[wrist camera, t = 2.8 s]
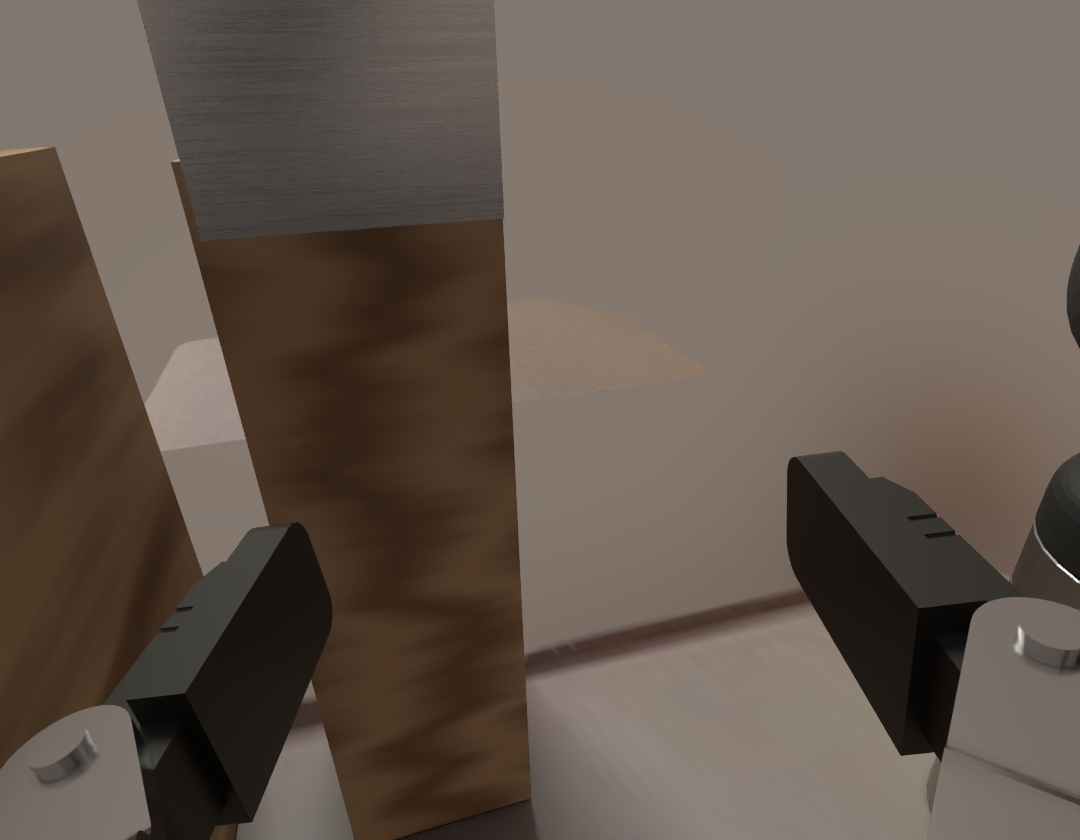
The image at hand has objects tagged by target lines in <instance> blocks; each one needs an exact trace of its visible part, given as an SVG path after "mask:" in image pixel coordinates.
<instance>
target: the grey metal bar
mask: <svg viewBox="0 0 1080 840" xmlns="http://www.w3.org/2000/svg"><path fill="white" fill-rule="evenodd" d="M137 1H138V5H139V9H140V13H141V17H142V20H143V24H144V28H145V32H146V35H147V39H148V43H149V47H150V50H151V54H152V58H153V62H154V66H155V69H156V73H157V77H158V81H159V84H160V88H161V92H162V96H163V100H164V103H165V107H166V111H167V115H168V118H169V122H170V126H171V130H172V133H173V137H174V141H175V145H176V149H177V152H178V156H179V160H180V164H181V167H182V171H183V175H184V179H185V183H186V186H187V190H188V194H189V198H190V201H191V205H192V209H193V213H194V217H195V220H196V224H197V228H198V232H199V235H200V239H201V241H211V240H224V239H237V238H251V237H264V236H277V235H291V234H304V233H317V232H330V231H344V230H357V229H370V228H383V227H397V226H410V225H423V224H437V223H450V222H463V221H476V220H490V219H503V218H504V204H503V184H502V162H501V143H500V142H501V141H500V121H499V100H498V80H497V58H496V37H495V18H494V17H495V16H494V0H137Z"/></svg>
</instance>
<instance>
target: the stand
mask: <svg viewBox="0 0 1080 840" xmlns="http://www.w3.org/2000/svg"><path fill="white" fill-rule="evenodd" d="M171 164H172V168H173V171H174V175H175V179H176V183H177V186H178V190H179V193H180V197H181V201H182V205H183V208H184V212H185V216H186V219H187V223H188V227H189V230H190V234H191V238H192V242H193V245H194V249H195V253H196V256H197V260H198V264H199V267H200V271H201V275H202V278H203V282H204V286H205V289H206V293H207V297H208V301H209V304H210V308H211V311H212V315H213V319H214V323H215V326H216V330H217V334H218V337H219V341H220V345H221V348H222V352H223V356H224V360H225V363H226V367H227V371H228V374H229V378H230V382H231V385H232V389H233V393H234V396H235V400H236V404H237V407H238V411H239V415H240V419H241V422H242V426H243V430H244V433H245V437H246V441H247V444H248V448H249V451H250V455H251V459H252V462H253V466H254V470H255V474H256V477H257V481H258V485H259V488H260V492H261V496H262V500H263V503H264V507H265V511H266V514H267V518H268V522H269V525H270V526H272V525H280V524H287V523H295V522H297V523H300V524H302V525H303V526H304V528H305V529H306V531H307V533H308V535H309V538H310V541H311V543H312V546H313V549H314V552H315V555H316V557H317V560H318V563H319V566H320V568H321V571H322V574H323V577H324V579H325V582H326V585H327V588H328V591H329V593H330V597H331V601H332V611H333V618H332V626H331V631H330V634H329V637H328V639H327V642H326V644H325V646H324V649H323V651H322V654H321V656H320V658H319V661H318V663H317V666H316V668H315V671H314V673H313V675H312V678H311V680H312V684H313V688H314V691H315V695H316V699H317V702H318V706H319V710H320V713H321V717H322V721H323V724H324V728H325V732H326V736H327V739H328V743H329V747H330V750H331V754H332V758H333V761H334V765H335V769H336V772H337V776H338V780H339V783H340V787H341V791H342V795H343V798H344V802H345V806H346V809H347V813H348V817H349V820H350V824H351V828H352V831H353V835H354V839H355V840H394V839H397V838H400V837H404V836H407V835H410V834H414V833H417V832H420V831H423V830H427V829H430V828H433V827H437V826H440V825H443V824H447V823H450V822H453V821H457V820H460V819H463V818H467V817H470V816H473V815H476V814H480V813H483V812H486V811H490V810H493V809H496V808H500V807H503V806H506V805H510V804H513V803H516V802H520V801H523V800H526V799H529V798H531V785H530V764H529V744H528V724H527V703H526V683H525V662H524V643H523V623H522V601H521V581H520V560H519V543H518V542H519V540H518V520H517V501H516V500H517V499H516V479H515V460H514V439H513V418H512V397H511V377H510V356H509V336H508V316H507V296H506V275H505V254H504V234H503V219H490V220H476V221H463V222H450V223H437V224H423V225H410V226H397V227H383V228H370V229H357V230H344V231H330V232H317V233H304V234H291V235H277V236H264V237H251V238H237V239H224V240H211V241H201V239H200V235H199V232H198V228H197V224H196V220H195V217H194V213H193V209H192V205H191V201H190V198H189V194H188V190H187V186H186V183H185V179H184V175H183V171H182V167H181V164H180V160H179V159H177V160H175V161H172V162H171ZM201 578H203V574H202V571H201V568H200V565H199V562H198V559H197V556H196V553H195V551H194V548H193V545H192V542H191V539H190V536H189V533H188V531H187V528H186V525H185V522H184V519H183V516H182V513H181V510H180V507H179V505H178V501H177V499H176V496H175V493H174V490H173V487H172V484H171V481H170V478H169V476H168V473H167V470H166V467H165V464H164V461H163V458H162V456H161V452H160V450H159V447H158V444H157V441H156V438H155V435H154V432H153V429H152V426H151V424H150V421H149V418H148V415H147V412H146V409H145V406H144V403H143V400H142V398H141V395H140V392H139V389H138V386H137V383H136V380H135V377H134V374H133V372H132V369H131V366H130V363H129V360H128V357H127V354H126V351H125V348H124V346H123V343H122V340H121V337H120V334H119V331H118V328H117V325H116V323H115V320H114V317H113V314H112V311H111V308H110V305H109V302H108V300H107V297H106V294H105V291H104V288H103V285H102V282H101V279H100V276H99V273H98V271H97V268H96V265H95V262H94V259H93V256H92V253H91V250H90V247H89V244H88V242H87V239H86V236H85V233H84V230H83V227H82V224H81V221H80V218H79V216H78V213H77V210H76V207H75V204H74V201H73V198H72V196H71V193H70V190H69V187H68V184H67V181H66V178H65V175H64V172H63V169H62V166H61V164H60V161H59V158H58V155H57V152H56V149H55V147H45V148H44V147H43V148H18V149H0V770H1V768H2V767H3V766H4V765H5V763H6V762H7V761H8V760H9V758H10V757H11V756H12V755H13V754H14V753H15V752H16V751H17V750H18V749H19V748H20V747H22V746H23V745H24V744H25V743H26V742H27V741H28V740H30V739H31V738H32V737H34V736H35V735H36V734H38V733H39V732H41V731H42V730H44V729H45V728H47V727H48V726H50V725H51V724H53V723H55V722H57V721H59V720H60V719H62V718H64V717H66V716H69V715H71V714H73V713H75V712H78V711H81V710H84V709H87V708H91V707H94V706H101V705H103V704H104V703H105V701H106V700H107V699H108V697H109V696H110V695H111V693H112V692H113V691H114V689H115V688H116V687H117V685H118V684H119V683H120V682H121V680H122V679H123V678H124V676H125V675H126V674H127V672H128V671H129V670H130V668H131V667H132V666H133V664H134V663H135V662H136V660H137V659H138V658H139V656H140V655H141V654H142V653H143V651H144V650H145V649H146V647H147V646H148V645H149V643H150V642H151V641H152V639H153V638H154V637H155V635H156V634H158V633H161V627H162V626H163V625H164V624H165V622H166V621H167V620H168V618H169V617H170V616H171V614H172V613H176V611H177V610H176V608H177V606H178V605H179V604H180V602H181V601H182V600H183V598H184V597H185V596H186V594H187V593H188V592H189V591H190V589H191V588H192V587H193V585H194V584H195V583H196V582H198V581H199V580H200V579H201ZM236 827H237V824H229V825H220V826H216V827H215V829H214V831H213V833H212V835H211V837H210V840H235V835H236Z"/></svg>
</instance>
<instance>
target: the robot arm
mask: <svg viewBox="0 0 1080 840" xmlns="http://www.w3.org/2000/svg"><path fill="white" fill-rule="evenodd" d="M1067 314H1068V319H1069V323H1070V328H1071V332H1072V334H1073V336H1074V338H1075V340H1076V342H1077V344H1078V346H1079V348H1080V246H1079V248H1078V251H1077V253H1076V256H1075V259H1074V262H1073V265H1072V268H1071V272H1070V277H1069V281H1068V288H1067ZM787 548H788V554H789V558H790V562H791V566H792V569H793V571H794V574H795V576H796V577H797V580H798V581H799V583H800V585H801V586H802V588H803V590H804V592H805V593H806V595H807V597H808V598H809V600H810V602H811V604H812V605H813V607H814V609H815V610H816V612H817V614H818V615H819V617H820V619H821V621H822V622H823V624H824V626H825V627H826V629H827V631H828V632H829V634H830V636H831V638H832V639H833V641H834V643H835V644H836V646H837V648H838V650H839V651H840V653H841V655H842V656H843V658H844V660H845V661H846V663H847V665H848V667H849V668H850V670H851V672H852V673H853V675H854V677H855V678H856V680H857V682H858V684H859V685H860V687H861V689H862V690H863V692H864V694H865V696H866V697H867V699H868V701H869V702H870V704H871V706H872V707H873V709H874V711H875V713H876V714H877V716H878V718H879V719H880V721H881V723H882V724H883V726H884V728H885V730H886V731H887V733H888V735H889V736H890V738H891V740H892V742H893V743H894V745H895V747H896V748H897V750H898V752H899V753H900V755H901V756H904V755H913V754H922V753H932V752H935V754H936V756H937V757H936V759H935V762H934V764H933V766H932V769H931V771H930V775H929V779H928V783H927V796H928V804H929V807H930V811H931V818H930V823H929V828H928V833H927V838H926V840H1080V453H1079V454H1077V455H1075V456H1073V457H1071V458H1070V459H1068V460H1067V461H1066V462H1064V463H1063V464H1062V465H1061V466H1060V467H1059V468H1058V470H1057V471H1056V472H1055V474H1054V475H1053V477H1052V479H1051V481H1050V483H1049V485H1048V487H1047V489H1046V491H1045V494H1044V496H1043V499H1042V501H1041V503H1040V506H1039V508H1038V511H1037V513H1036V517H1035V520H1034V522H1033V524H1032V527H1031V529H1030V532H1029V534H1028V537H1027V539H1026V542H1025V544H1024V546H1023V549H1022V551H1021V554H1020V556H1019V558H1018V561H1017V563H1016V566H1015V568H1014V571H1013V573H1012V576H1011V579H1010V581H1009V582H1008V581H1007V580H1006V579H1005V578H1004V577H1003V576H1002V575H1001V574H1000V573H999V572H998V571H997V570H996V569H995V568H994V567H993V566H992V565H990V564H989V563H988V562H987V561H986V560H985V559H984V558H983V557H982V556H981V555H980V554H979V553H978V552H977V551H976V550H975V549H973V548H972V547H971V546H970V545H969V544H968V543H967V542H966V541H965V540H964V539H963V538H962V537H961V536H960V535H957V536H956V535H955V530H953V529H952V528H951V527H950V526H949V525H948V524H947V523H946V522H945V521H944V520H943V519H942V518H941V517H940V518H937V516H936V512H934V511H933V510H932V509H931V508H930V507H929V506H928V505H927V504H926V503H925V502H924V501H923V500H922V499H921V498H920V497H919V496H918V495H917V494H915V493H914V492H912V491H910V490H908V489H906V488H904V487H902V486H900V485H898V484H896V483H894V482H891V481H890V480H887V479H885V478H883V477H880V478H871V479H869V478H868V477H867V476H866V475H865V473H864V472H863V471H862V470H861V469H860V468H859V467H858V466H857V465H856V464H855V463H854V462H853V461H852V460H851V459H850V458H849V457H848V456H847V455H846V454H845V453H844V452H842V451H837V452H828V453H821V454H814V455H806V456H799V457H793V458H791V459H790V461H789V464H788V470H787ZM176 610H177V611H176V613H172V614H171V616H170V617H169V618H168V620H167V621H166V622H165V624H164V625H163V626H162V627H161V633H158V634H156V635H155V637H154V638H153V639H152V641H151V642H150V643H149V645H148V646H147V647H146V649H145V650H144V651H143V653H142V654H141V655H140V656H139V658H138V659H137V660H136V662H135V663H134V664H133V666H132V667H131V668H130V670H129V671H128V672H127V674H126V675H125V676H124V678H123V679H122V680H121V682H120V683H119V684H118V685H117V687H116V688H115V689H114V691H113V692H112V693H111V695H110V696H109V697H108V699H107V700H106V701H105V703H104V704H103V705H101V706H94V707H91V708H87V709H84V710H81V711H78V712H75V713H73V714H71V715H69V716H66V717H64V718H62V719H60V720H59V721H57V722H55V723H53V724H51V725H50V726H48V727H47V728H45V729H44V730H42V731H41V732H39V733H38V734H36V735H35V736H34V737H32V738H31V739H30V740H28V741H27V742H26V743H25V744H24V745H23V746H22V747H20V748H19V749H18V750H17V751H16V752H15V753H14V754H13V755H12V756H11V757H10V758H9V760H8V761H7V762H6V763H5V765H4V766H3V767H2V768H1V770H0V840H210V837H211V835H212V833H213V831H214V829H215V827H216V826H220V825H229V824H239V823H248V822H252V821H253V819H254V816H255V814H256V811H257V809H258V806H259V804H260V802H261V799H262V797H263V794H264V792H265V789H266V787H267V785H268V782H269V780H270V777H271V775H272V772H273V770H274V768H275V765H276V763H277V760H278V758H279V755H280V753H281V751H282V748H283V746H284V743H285V741H286V738H287V736H288V734H289V731H290V729H291V726H292V724H293V722H294V719H295V717H296V714H297V712H298V709H299V707H300V705H301V702H302V700H303V697H304V695H305V692H306V690H307V688H308V685H309V683H310V680H311V678H312V675H313V673H314V671H315V668H316V666H317V663H318V661H319V658H320V656H321V654H322V651H323V649H324V646H325V644H326V642H327V639H328V637H329V634H330V631H331V626H332V618H333V611H332V601H331V597H330V593H329V591H328V588H327V585H326V582H325V579H324V577H323V574H322V571H321V568H320V566H319V563H318V560H317V557H316V555H315V552H314V549H313V546H312V543H311V541H310V538H309V535H308V533H307V531H306V529H305V528H304V526H303V525H302V524H300V523H297V522H295V523H287V524H280V525H272V526H265V527H258V528H253V529H251V530H249V531H248V533H247V534H246V535H245V536H244V538H243V539H242V540H241V542H240V543H239V545H238V546H237V547H236V549H235V550H234V552H233V553H232V554H231V556H230V557H229V558H228V560H227V561H226V562H222V563H220V564H219V565H218V566H217V567H215V568H214V569H213V570H211V571H210V572H209V573H208V574H207V575H205V576H204V577H203V578H201V579H200V580H199V581H198V582H196V583H195V584H194V585H193V587H192V588H191V589H190V591H189V592H188V593H187V594H186V596H185V597H184V598H183V600H182V601H181V602H180V604H179V605H178V606H177V608H176Z"/></svg>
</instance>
